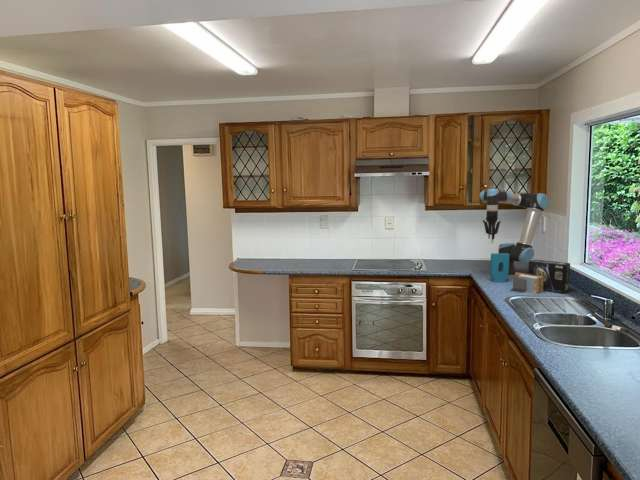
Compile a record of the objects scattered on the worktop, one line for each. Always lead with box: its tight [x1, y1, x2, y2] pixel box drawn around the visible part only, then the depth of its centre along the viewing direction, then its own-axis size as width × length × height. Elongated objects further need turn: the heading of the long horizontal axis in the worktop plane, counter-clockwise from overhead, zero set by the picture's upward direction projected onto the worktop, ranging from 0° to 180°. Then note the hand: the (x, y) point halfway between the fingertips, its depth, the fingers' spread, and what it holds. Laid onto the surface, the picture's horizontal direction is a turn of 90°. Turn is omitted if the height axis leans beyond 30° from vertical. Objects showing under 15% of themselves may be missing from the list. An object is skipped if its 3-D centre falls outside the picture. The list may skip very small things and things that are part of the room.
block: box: [489, 252, 510, 283], centre depth 330 cm, size 12×5×20 cm, turn 90°
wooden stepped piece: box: [514, 271, 544, 295], centre depth 304 cm, size 10×19×10 cm, turn 40°
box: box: [527, 259, 571, 294], centre depth 304 cm, size 23×10×19 cm, turn 47°
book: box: [518, 273, 538, 294], centre depth 302 cm, size 5×12×10 cm, turn 40°
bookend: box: [509, 277, 526, 294], centre depth 301 cm, size 4×8×8 cm, turn 40°
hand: (491, 243), depth 331 cm, fingers closed
